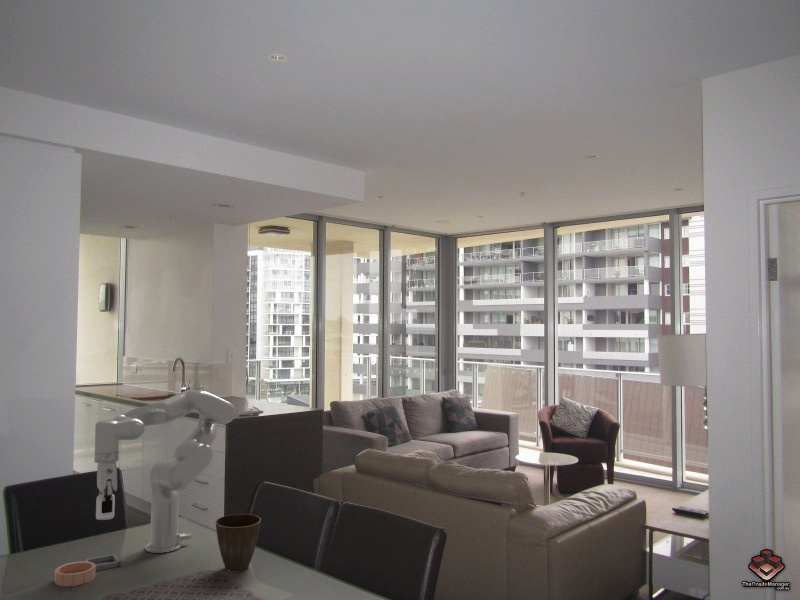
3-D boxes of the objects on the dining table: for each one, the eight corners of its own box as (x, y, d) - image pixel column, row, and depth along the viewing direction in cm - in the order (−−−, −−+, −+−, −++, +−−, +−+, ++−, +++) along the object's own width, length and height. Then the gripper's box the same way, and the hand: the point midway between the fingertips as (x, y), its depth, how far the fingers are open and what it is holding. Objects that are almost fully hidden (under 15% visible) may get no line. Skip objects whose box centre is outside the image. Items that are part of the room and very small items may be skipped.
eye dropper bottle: (106, 521, 213) (107, 485, 214) (93, 519, 215) (94, 483, 216) (116, 517, 217) (117, 482, 218) (103, 515, 219) (104, 480, 220)
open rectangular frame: (114, 558, 221) (114, 554, 222) (120, 566, 214) (120, 561, 215) (84, 563, 216) (84, 559, 216) (88, 571, 209) (89, 567, 209)
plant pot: (265, 571, 212) (267, 522, 212) (221, 579, 204) (222, 529, 205) (251, 557, 224) (253, 511, 225) (209, 565, 217) (210, 517, 218)
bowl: (91, 569, 211) (91, 559, 211) (98, 581, 201) (98, 569, 202) (52, 577, 204) (53, 566, 204) (57, 589, 195) (58, 577, 195)
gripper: (123, 459, 212) (122, 515, 212) (113, 451, 226) (111, 503, 225) (99, 462, 208) (98, 518, 207) (90, 453, 222) (88, 506, 221)
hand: (105, 510), depth 216 cm, fingers closed on eye dropper bottle, 4 cm apart
